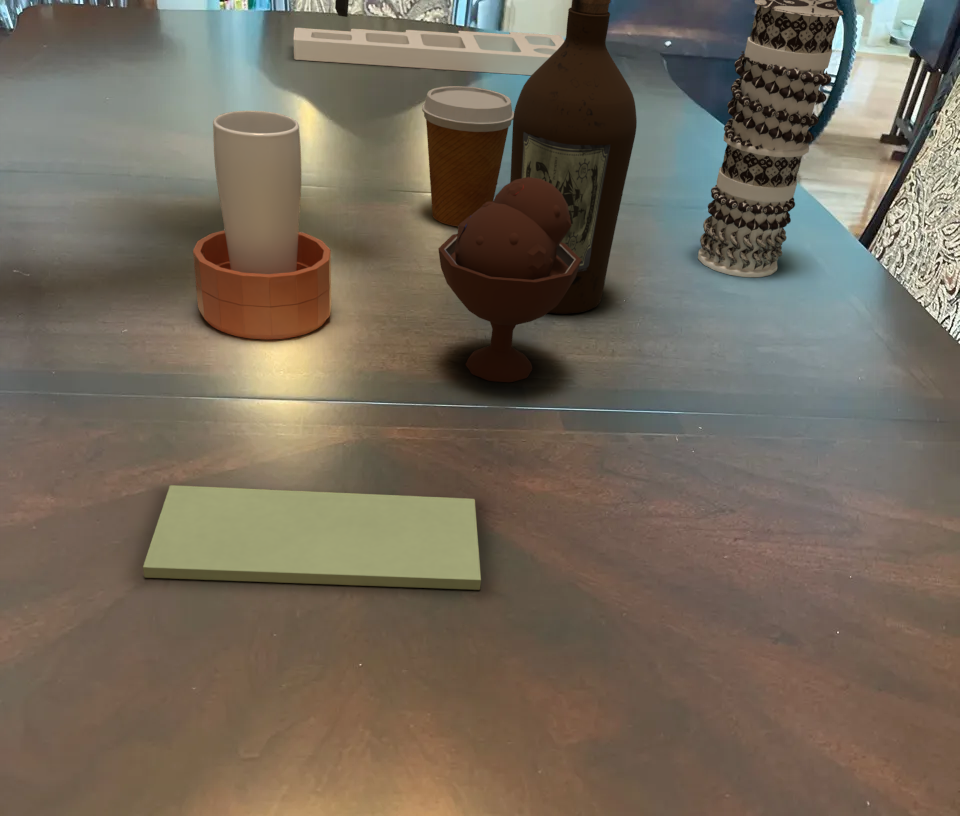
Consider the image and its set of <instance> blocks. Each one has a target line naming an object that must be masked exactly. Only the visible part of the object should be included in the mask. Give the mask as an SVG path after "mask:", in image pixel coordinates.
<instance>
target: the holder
mask: <svg viewBox="0 0 960 816" xmlns="http://www.w3.org/2000/svg"><path fill="white" fill-rule="evenodd" d="M457 32H458V33H457ZM457 32H442V31H429V30H418V29H417V30H416V29H405V31H403V32H402V31H390V30H376V29H364V28H363V29H362V28H361V29H360V28H351V29H350V31H347V30H335V29H320V28H305V27H294V30H293V41H292V42H293V60H296V61H308V62H309V61H311V62H326V63H340V64H354V65H370V66H384V67H385V66H386V67H402V68H414V69H415V68H416V69H429V70H430V69H431V70H446V71H462V72H476V73H490V74H503V75H506V74H507V75H518V76H519V75H522V76H531V75H532V74H533V73H534V72H535V71H536V70H537V69H538V68H539V67H540V66H541V65H542V64H543V63H544V62H545V61H546V60H548V59H549V58H550V57H551V56H552V55H553V54H554V53H555V52H556V51H557V50H558V49H559V48H560V46H561V45H562V44H563V43H564V41H565V39H564V37H563V36H562V35H561V34H560V35H559V34H549V33H548V34H547V33H532V32H521V31H520V32H518V31H509V33H497V32H496V33H494V32H483V31H482V32H481V31H468V30H467V31H466V30H458V31H457Z"/></svg>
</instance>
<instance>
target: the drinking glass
mask: <svg viewBox="0 0 960 816" xmlns="http://www.w3.org/2000/svg"><path fill="white" fill-rule="evenodd" d="M212 141H213V158H214V159H213V160H214V167H215V168H214V170H215V178H216V186H217V192H218V198H219V199H218V200H219V204H220V211H221V217H222V223H223V230H225V236H226V243H227V249H228V256H229V262H230V269H231V270H234V271H238V272H243V273H258V274H277V273H288V272H295V271H297V254H298V235H299V232H300V215H301V198H302V197H301V196H302V147H301V134H300V124H299V122H298V121H297V120H296V119H295V118H293V117H290V116H288V115H286V114H282V113H277V112H273V111H266V110H265V111H264V110H235V111H229V112H224V113H222V114H219V115H217V116H215V117H214V118H213V120H212Z"/></svg>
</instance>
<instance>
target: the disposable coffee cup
mask: <svg viewBox="0 0 960 816" xmlns="http://www.w3.org/2000/svg"><path fill="white" fill-rule="evenodd" d="M512 106H513V105H512V100H511V98H510V97H508V96H507V95H506V94H504V93H501V92H498V91H495V90H492V89H491V90H490V89H487V88H480V87H474V86H463V85H462V86H461V85H457V86H456V85H454V86H453V85H450V86H449V85H447V86H439V87H435V88H432V89H430V90H428V91H427V93H426V96H425V101H424V103H422V105H421V110H422V112H423V117H424V118H425V123H426V125H425V126H426V137H427V138H426V139H427V153H428V169H429V181H430V182H429V184H430V197H431V198H430V199H431V216H432V217H433V219H434V220H436V221H438V222H440V223H442V224H444V225H448V226H452V227H458V225H459V224H460V223H461V222H463V221H464V220H465V219H466V218H468V217H469V216H470V215H472V214H473V213H474V212H476V211H477V210H478V209H480V208H481V207H482V206H483V204H485V203H486V202H493V201H494V199H495V197H496V190H497V187H498V181H499V176H500V171H501V166H502V161H503V156H504V152H505V147H506V142H507V136H508V132H509V129H510V127H511V125H512V122H513V116H514V110H513V107H512Z"/></svg>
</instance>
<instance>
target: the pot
mask: <svg viewBox="0 0 960 816" xmlns="http://www.w3.org/2000/svg"><path fill="white" fill-rule="evenodd" d="M192 257H193V267H194V268H193V269H194V277H195V289H196V299H197V309H198V310H199V313H200V314H201V316H202V317H203V319H204V321H206V323H207V324H209V325H210V326H211V327H213V328H214V329H215V330H217V331H220V332H222V333H225V334H227V335H231V336H234V337H239V338H244V339H252V340H284V339H292V338H296V337H300V336H304V335H307V334H310V333H312V332H314V331H316V330H318V329H320V328H321V327H322V326H323V325H325V323H326V322H327V320H328V319H329V318H330V317H331V310H332V250H331V249H330V247H328V245H327V244H326V243H325V242H324V241H323V240H322V239H320V238H318V237H315V236H313V235H311V234H308V233H306V232H302V231H299V235H298V254H297V271H295V272H288V273H277V274H258V273H243V272H238V271H234V270H231V269H230V262H229V256H228V249H227V243H226V236H225V230H224V229H223V230H220V231H215V232H212V233H209V234H208V235H206V236H204V237H202V238H200V239H199V240H197V242H196V243H195V245H194V247H193V250H192Z"/></svg>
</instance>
